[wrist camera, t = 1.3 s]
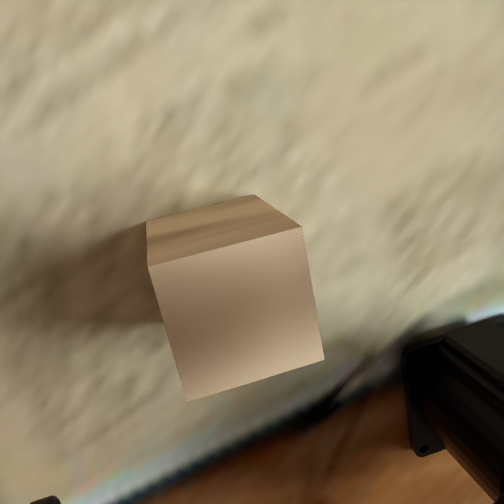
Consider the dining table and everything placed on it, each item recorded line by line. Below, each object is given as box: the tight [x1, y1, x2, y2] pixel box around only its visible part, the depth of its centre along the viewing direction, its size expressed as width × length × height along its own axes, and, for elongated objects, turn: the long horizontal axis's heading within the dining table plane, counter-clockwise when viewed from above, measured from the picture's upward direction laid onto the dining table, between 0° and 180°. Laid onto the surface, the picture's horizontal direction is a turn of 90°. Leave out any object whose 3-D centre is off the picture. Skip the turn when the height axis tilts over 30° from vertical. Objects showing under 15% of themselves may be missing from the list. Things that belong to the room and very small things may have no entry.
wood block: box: [146, 195, 325, 402], centre depth 16 cm, size 4×4×6 cm
